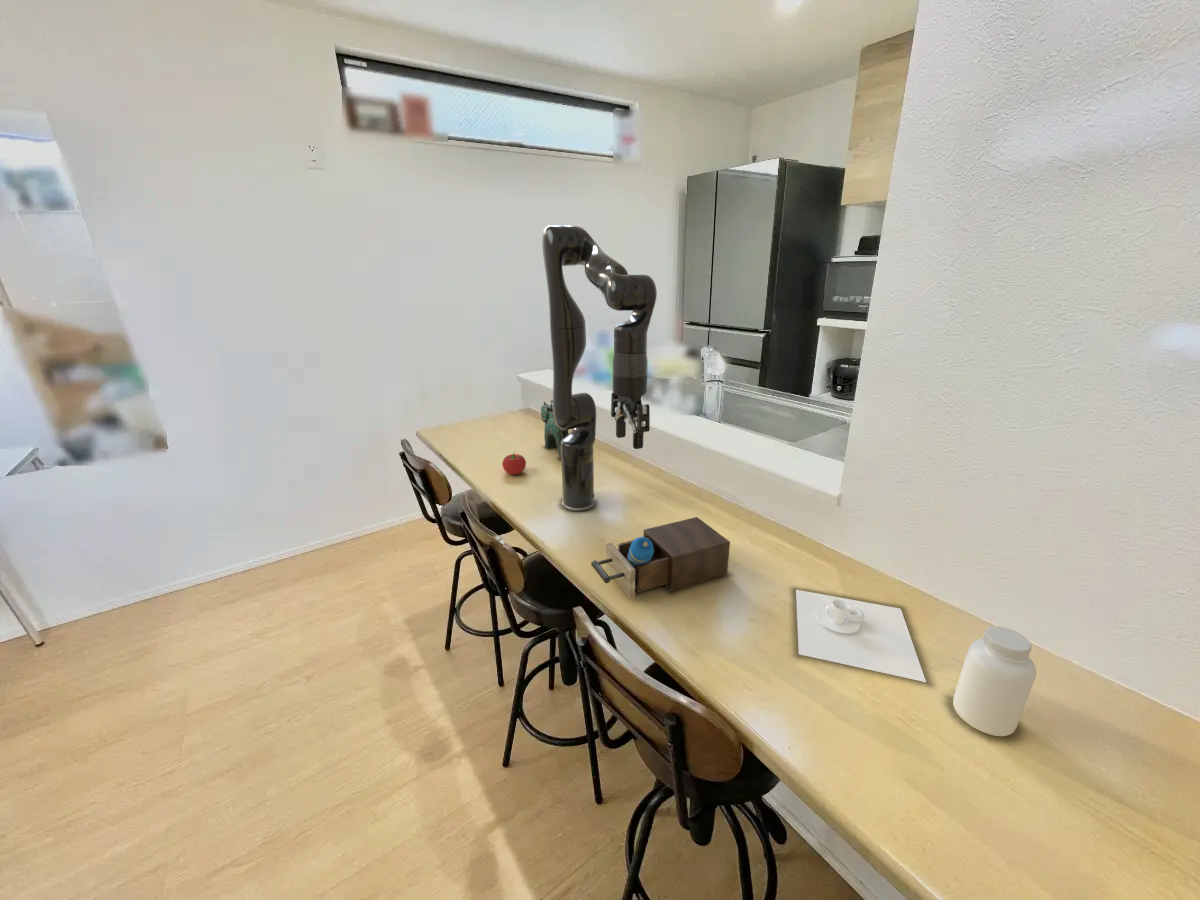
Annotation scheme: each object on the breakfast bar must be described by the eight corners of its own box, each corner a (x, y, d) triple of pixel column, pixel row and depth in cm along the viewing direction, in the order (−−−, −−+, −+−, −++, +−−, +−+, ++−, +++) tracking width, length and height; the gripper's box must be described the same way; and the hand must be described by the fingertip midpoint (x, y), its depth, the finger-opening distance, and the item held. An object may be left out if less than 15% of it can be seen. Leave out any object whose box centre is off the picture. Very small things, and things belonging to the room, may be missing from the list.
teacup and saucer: (861, 613, 99) (865, 596, 97) (867, 640, 92) (871, 622, 90) (814, 604, 101) (817, 588, 100) (816, 630, 94) (819, 612, 93)
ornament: (628, 581, 109) (647, 561, 96) (613, 563, 110) (629, 541, 98) (644, 566, 112) (664, 545, 99) (629, 549, 113) (647, 526, 100)
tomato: (524, 477, 164) (522, 456, 161) (501, 477, 164) (499, 456, 162) (528, 468, 171) (526, 448, 169) (505, 468, 172) (504, 448, 169)
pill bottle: (939, 696, 80) (962, 621, 74) (985, 692, 80) (1011, 617, 75) (978, 740, 72) (1007, 660, 67) (1029, 736, 73) (1061, 656, 68)
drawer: (609, 605, 101) (609, 576, 98) (587, 574, 110) (586, 548, 108) (684, 582, 108) (686, 555, 105) (658, 556, 117) (659, 530, 115)
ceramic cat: (541, 445, 194) (538, 396, 187) (556, 443, 196) (554, 394, 189) (558, 462, 177) (556, 408, 170) (575, 459, 179) (573, 406, 172)
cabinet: (671, 592, 106) (673, 557, 103) (642, 561, 117) (643, 529, 114) (727, 575, 111) (730, 541, 108) (694, 548, 122) (696, 516, 119)
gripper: (661, 376, 102) (659, 449, 108) (630, 365, 114) (629, 431, 120) (629, 380, 99) (628, 455, 105) (600, 368, 111) (601, 435, 117)
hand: (629, 442), depth 112 cm, fingers open, 8 cm apart
